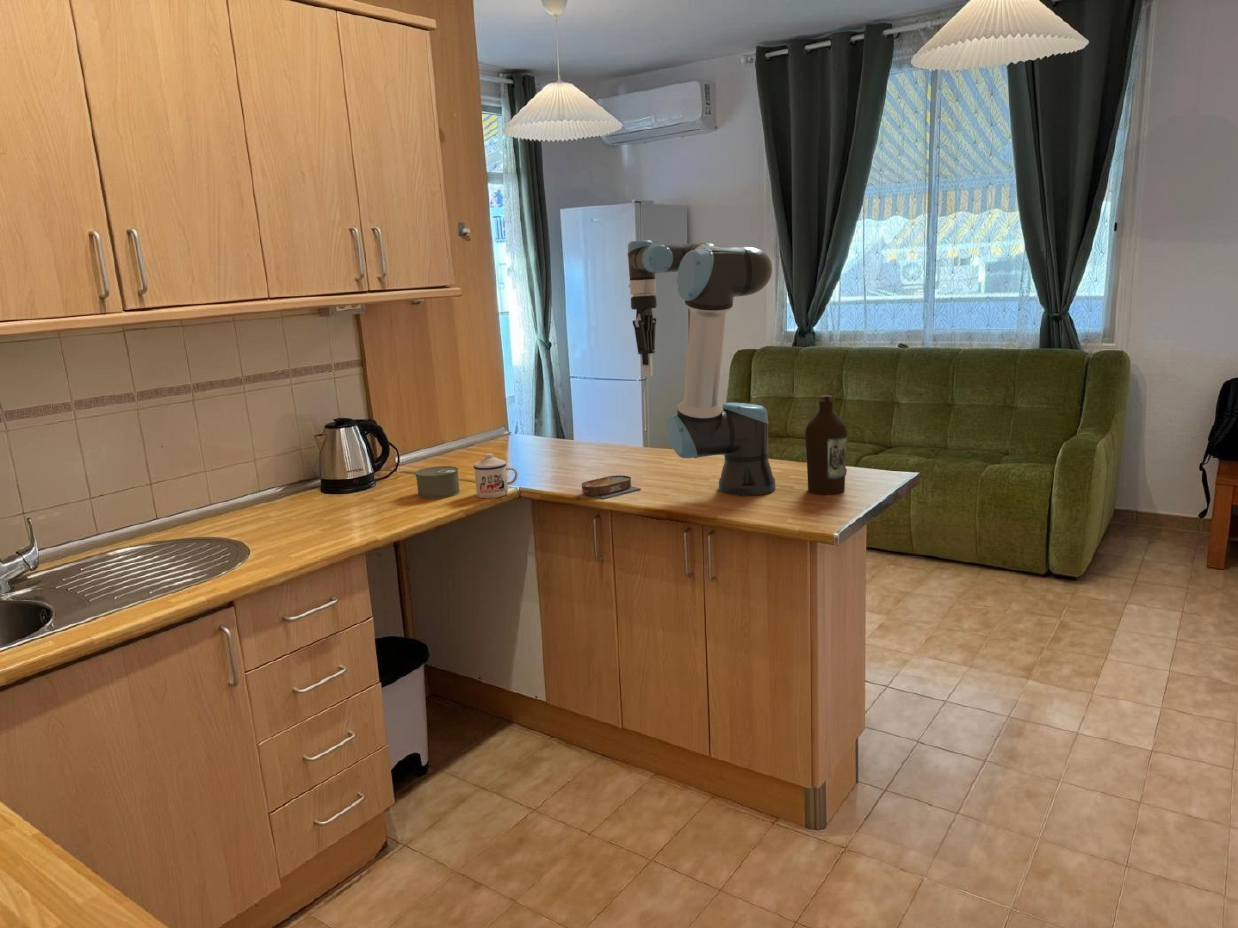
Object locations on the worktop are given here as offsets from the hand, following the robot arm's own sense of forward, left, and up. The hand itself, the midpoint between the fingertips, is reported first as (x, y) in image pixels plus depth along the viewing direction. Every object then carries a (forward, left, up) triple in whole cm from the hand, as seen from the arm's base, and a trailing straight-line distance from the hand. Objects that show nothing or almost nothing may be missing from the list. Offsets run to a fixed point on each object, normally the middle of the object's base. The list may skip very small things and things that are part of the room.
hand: (647, 375), depth 259 cm
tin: (-7, +26, -27) cm, 38 cm away
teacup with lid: (+11, +48, -29) cm, 57 cm away
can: (+25, +59, -29) cm, 70 cm away
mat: (-13, +26, -28) cm, 40 cm away
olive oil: (-56, -12, -29) cm, 64 cm away
